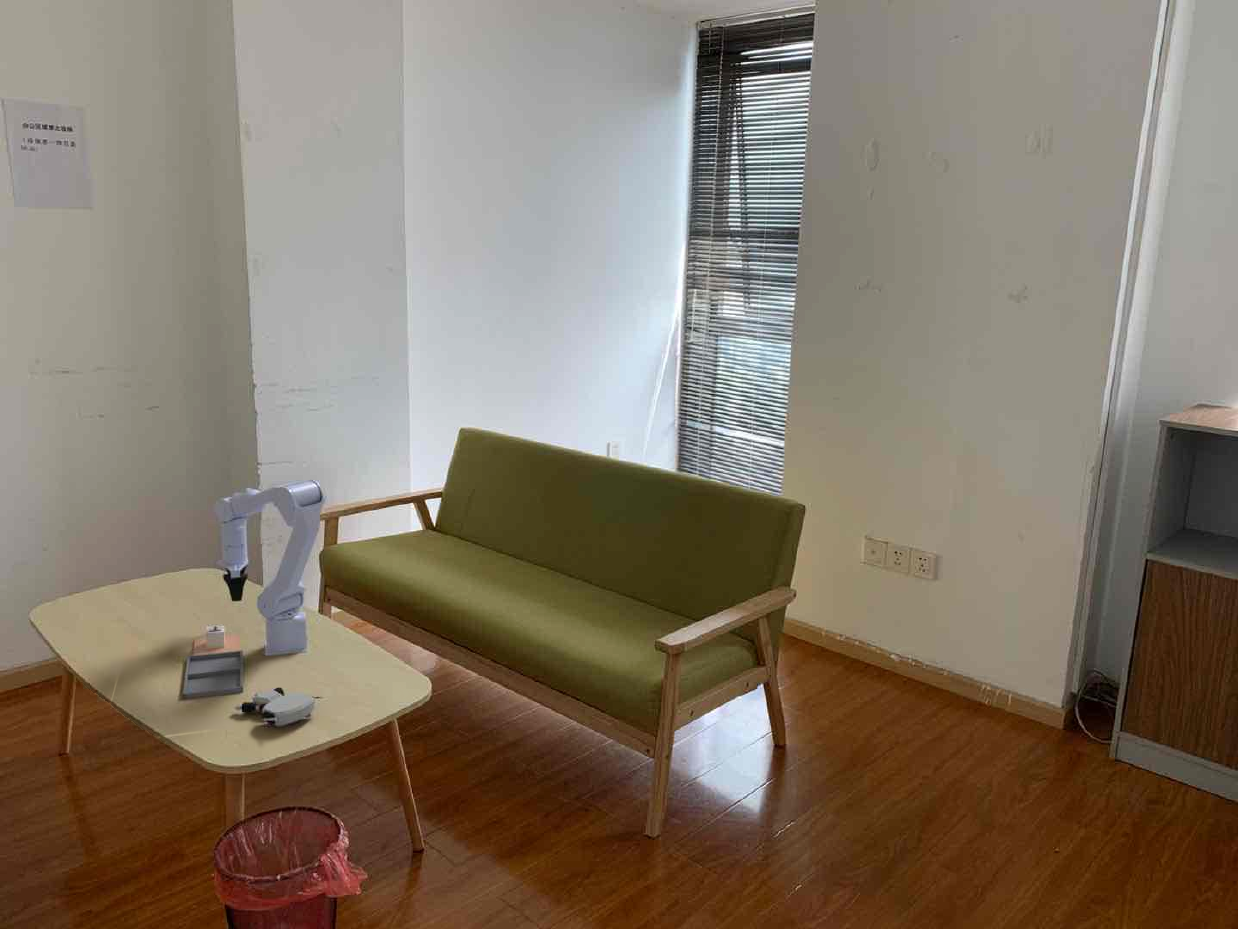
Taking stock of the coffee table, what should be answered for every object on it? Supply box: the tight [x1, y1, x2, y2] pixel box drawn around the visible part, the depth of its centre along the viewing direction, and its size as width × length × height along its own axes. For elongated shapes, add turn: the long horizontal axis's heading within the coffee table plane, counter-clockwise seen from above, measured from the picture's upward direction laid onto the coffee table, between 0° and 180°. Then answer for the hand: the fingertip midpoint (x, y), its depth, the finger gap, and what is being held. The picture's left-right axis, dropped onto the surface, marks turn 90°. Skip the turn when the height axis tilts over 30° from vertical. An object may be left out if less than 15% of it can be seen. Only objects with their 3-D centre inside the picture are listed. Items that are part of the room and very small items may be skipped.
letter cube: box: [205, 624, 226, 649], centre depth 230 cm, size 4×4×4 cm
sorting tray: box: [182, 650, 244, 700], centre depth 215 cm, size 12×20×2 cm, turn 21°
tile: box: [192, 633, 240, 655], centre depth 230 cm, size 10×10×1 cm
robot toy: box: [234, 687, 324, 727], centre depth 200 cm, size 12×4×15 cm
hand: (236, 595), depth 237 cm, fingers open, 7 cm apart
